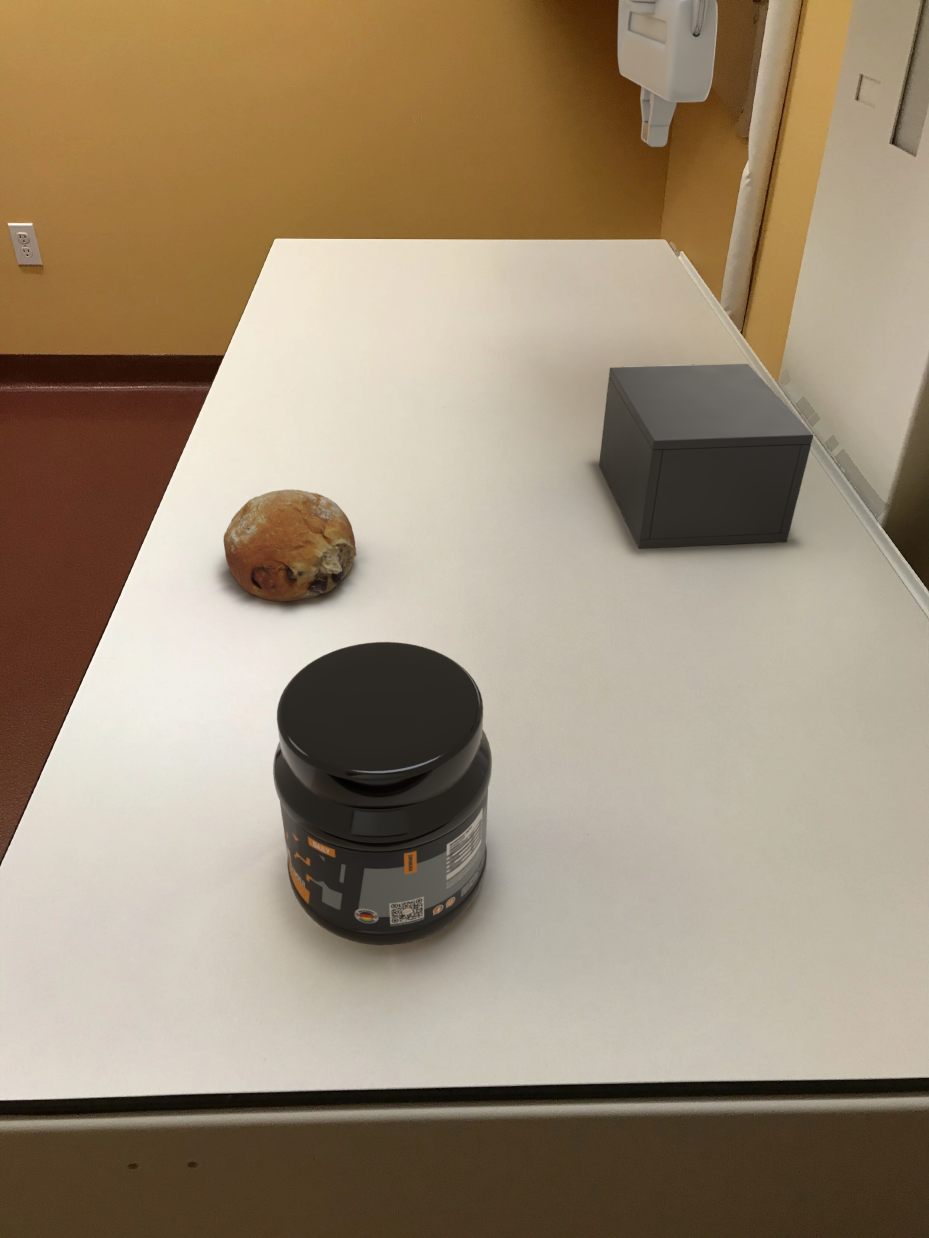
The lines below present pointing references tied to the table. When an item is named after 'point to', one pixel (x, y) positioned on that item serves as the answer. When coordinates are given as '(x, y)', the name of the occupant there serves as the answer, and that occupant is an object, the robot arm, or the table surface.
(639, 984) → the table surface
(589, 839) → the table surface
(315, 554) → the bread roll
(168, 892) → the table surface
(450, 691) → the supplement container
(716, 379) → the dark grey cabinet
